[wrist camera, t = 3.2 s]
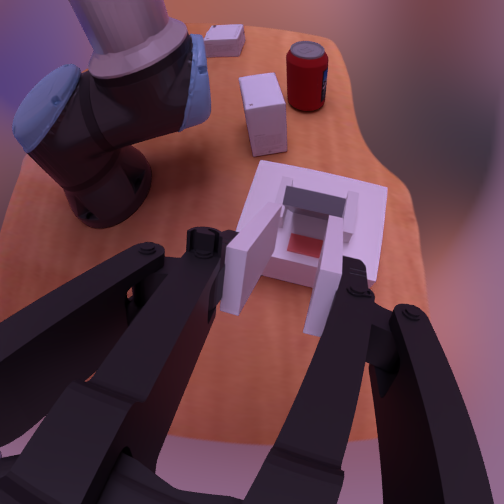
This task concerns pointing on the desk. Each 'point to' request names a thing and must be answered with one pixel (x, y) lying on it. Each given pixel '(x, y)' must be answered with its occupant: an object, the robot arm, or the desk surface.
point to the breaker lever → (313, 203)
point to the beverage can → (306, 75)
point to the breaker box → (317, 220)
